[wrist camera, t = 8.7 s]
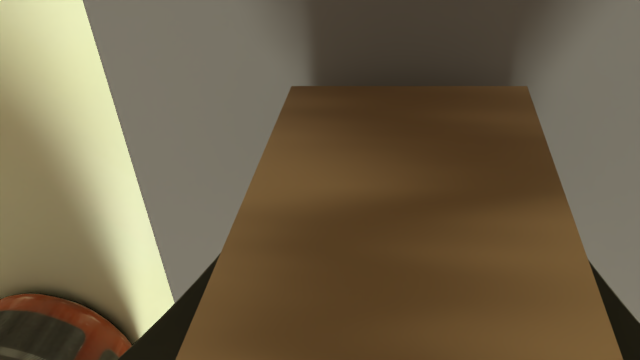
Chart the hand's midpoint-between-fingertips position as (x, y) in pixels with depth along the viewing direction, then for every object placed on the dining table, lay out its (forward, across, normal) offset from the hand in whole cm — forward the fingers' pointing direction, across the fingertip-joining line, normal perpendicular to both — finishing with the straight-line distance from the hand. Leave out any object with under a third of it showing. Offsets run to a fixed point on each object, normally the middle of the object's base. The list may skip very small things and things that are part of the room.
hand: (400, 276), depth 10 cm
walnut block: (+3, 0, 0) cm, 3 cm away
